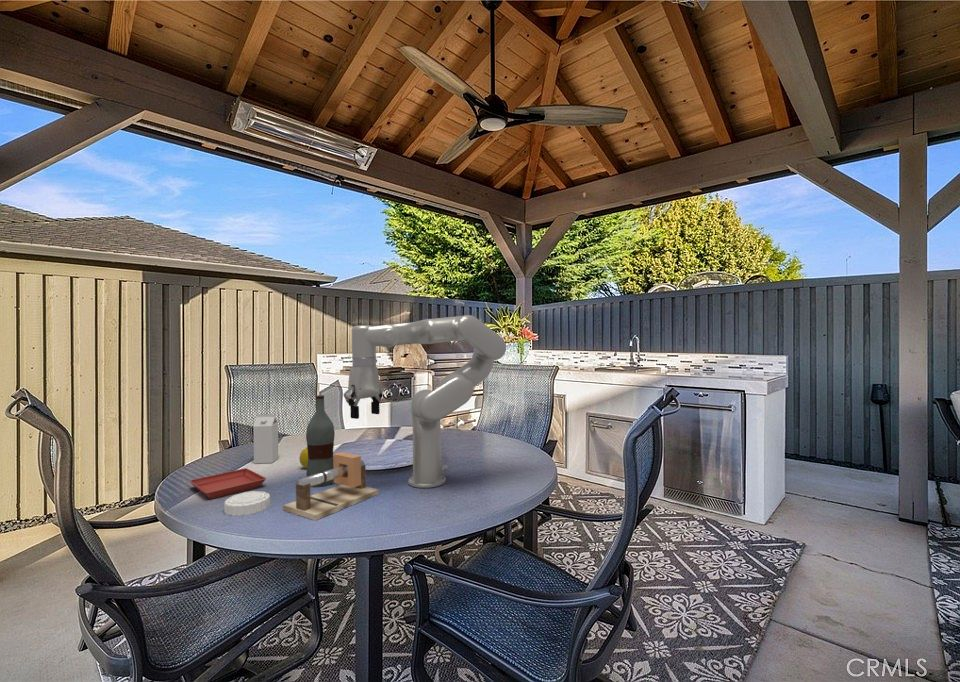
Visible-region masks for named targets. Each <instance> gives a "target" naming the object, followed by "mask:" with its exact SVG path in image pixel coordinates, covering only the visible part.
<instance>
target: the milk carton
mask: <svg viewBox="0 0 960 682" xmlns="http://www.w3.org/2000/svg"><path fill="white" fill-rule="evenodd" d="M277 419H278V418H276V414H275V413H272V414H270V413H269V414H268V413H266V414H256V418H255V420H254V424H253V463H254V464H255V465H256V464H273V463H274V462H276V461H277V460H278V459H279V422H278V420H277Z"/></svg>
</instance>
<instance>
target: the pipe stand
mask: <svg viewBox="0 0 960 682" xmlns="http://www.w3.org/2000/svg"><path fill="white" fill-rule="evenodd" d="M366 467H367V466H366V465H364V466H361V485H359V486H356V487H349V486H345V485H341V484H338V485H337V486H334V487H331V488H329V489H325V490H323V491H320V492H317V493H314V494H311V487H310V484H307V485H304V486H303V485H299V484H297V482H296V483H295V501H292V502H288V503H286V504H283V505H282V509H283V510H282V511H284V512H287V513H289V514H293V515H295V516H296V515H297V516H299V515H300V516H299V517H302V516H303V517H302V518H305V517H306V519H308V518H309V520H311V519H312V520H311V521H316V522H317V521H318V520H321V519H323V518H325V517H327V516H328V517H329V516H330V515H332V514H334V513H337V512H339V510H340V511H342V510H344V509H347V508H349V507H352V506H353V505H356V504H359V503H361V502H363V501H366V500H369V499H371V498H372V497H376V496H377V495H379V494H380V493H379V489H378V488H373V487H370V486H366V485H367V483H366V482H367V481H366V479H367V478H366V477H367V475H366V473H367V472H366ZM302 486H303V489H302ZM299 487H301V488H299ZM298 488H299V489H298ZM301 489H302V490H301ZM351 505H352V506H351ZM346 507H347V508H346ZM343 508H344V509H343ZM341 509H342V510H341Z"/></svg>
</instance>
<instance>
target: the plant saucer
mask: <svg viewBox="0 0 960 682" xmlns="http://www.w3.org/2000/svg"><path fill="white" fill-rule="evenodd" d="M266 480H267V478H266V477H265V476H262V475H261V474H259V473H256V472H255V471H253V470H251V469H249V468H240V469H237V470H232V471H226V472H222V473H217V474H213V475H208V476H203V477H200V478H198V477H197V478H195V479H191V480H189V483H190V484H191V485H192V486H194V488H195V489H197V490H198V491H200V492H201V494H203V495H204V496H206V497H207V498H209V499H216V498H221V497H225V496H229V495H233V494H238V493H242V492H246V491H248V490H252V489H257V488H260V486H261V485H262V484H263V483H265V481H266Z"/></svg>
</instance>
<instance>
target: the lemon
mask: <svg viewBox="0 0 960 682" xmlns="http://www.w3.org/2000/svg"><path fill="white" fill-rule="evenodd" d="M299 463H300V465H301V466H302V467H304V468H306V469H307V464H308V450H307V447H305V448H303V449H302V450H301V452H300V455H299Z"/></svg>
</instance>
